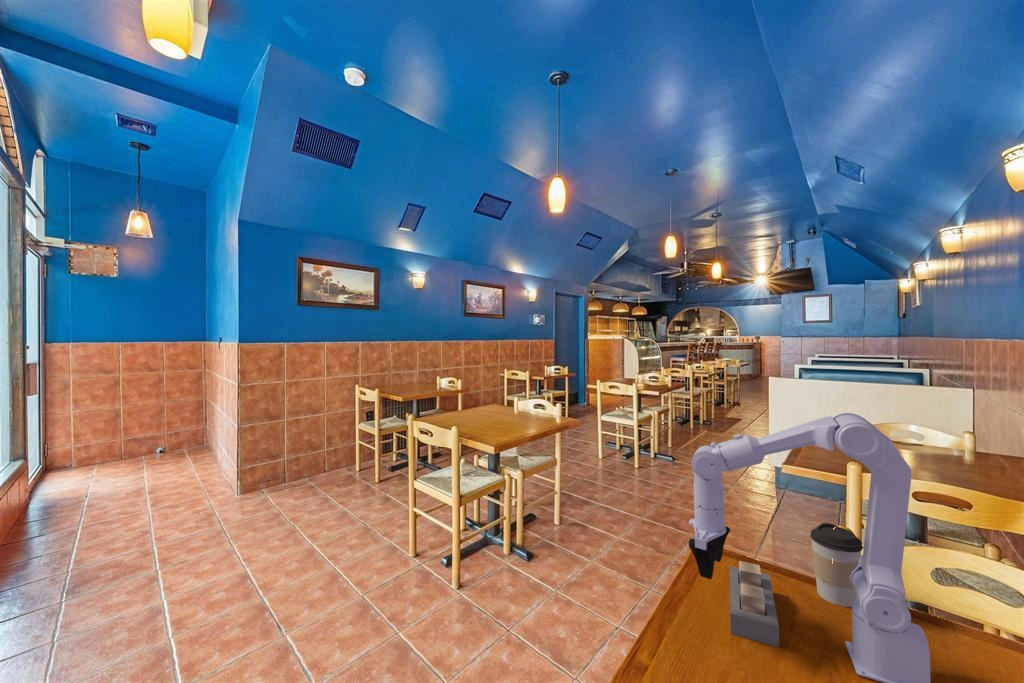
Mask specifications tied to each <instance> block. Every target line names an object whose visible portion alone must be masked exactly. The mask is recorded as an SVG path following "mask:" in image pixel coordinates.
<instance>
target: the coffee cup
mask: <svg viewBox="0 0 1024 683" xmlns="http://www.w3.org/2000/svg"><path fill="white" fill-rule="evenodd" d="M834 527H836V528H835V529H834V530H833V528H834ZM809 537H810V538H811V551H812V553H811V554H812V561H813V570H814V575H815V580H816V590H817V591H816V592H817V594H818V595H819V597H821V598H822V599H823V600H825V601H826V602H829V603H831V604H834V605H837V606H840V607H845V608H852V604H853V602H854V601H855V600H856V598H857V595H856V592H855V589H854V588H853V586H852V584H851V580H850V576H851V573H852V572H853V571H854V570H855V569H856V568H857V566H858V563H859V558H860V556H862V551H863V550H864V546H863V545H862V544H863V542H862V540H861V539H860V538H859V537H857V536H856V535H855V533H854V532H852V531H850V530H849V529H847V528H844V527H840V526H837V525H835V524H833V523H830V522H829V523H828V522H823V523H821V524H819V525H818V526H816V527H814V528H813V529H811V530H810V536H809ZM832 558H833V564H832ZM823 581H825V582H823ZM826 582H827V583H826Z"/></svg>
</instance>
